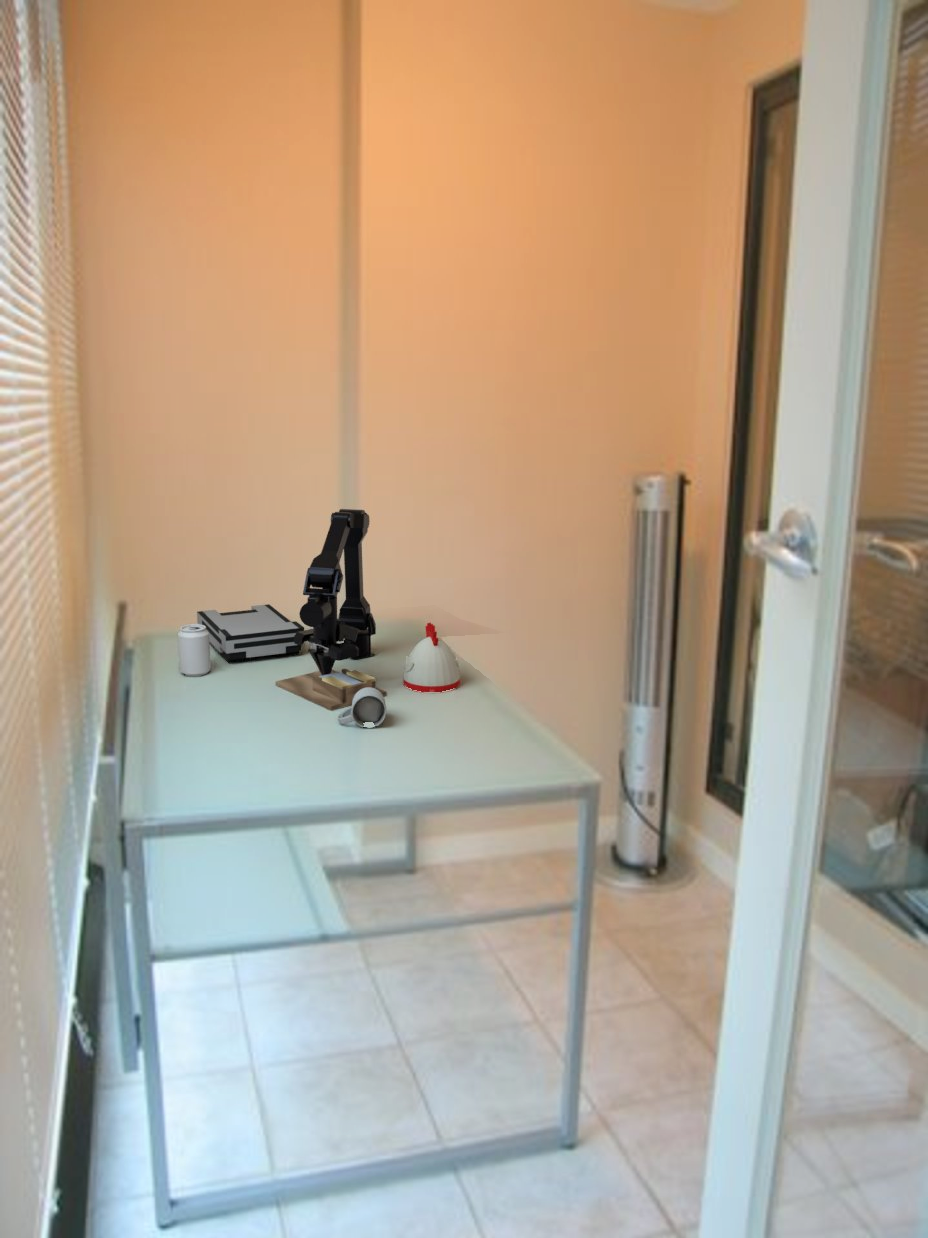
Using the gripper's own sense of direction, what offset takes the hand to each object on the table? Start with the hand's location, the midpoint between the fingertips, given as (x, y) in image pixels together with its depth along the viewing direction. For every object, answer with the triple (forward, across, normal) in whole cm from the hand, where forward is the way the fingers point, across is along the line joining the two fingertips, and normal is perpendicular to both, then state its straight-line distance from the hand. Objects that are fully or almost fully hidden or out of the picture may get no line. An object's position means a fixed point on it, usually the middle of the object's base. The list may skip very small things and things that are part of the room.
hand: (326, 678), depth 251 cm
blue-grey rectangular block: (+2, -6, 0) cm, 6 cm away
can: (+3, +31, +18) cm, 36 cm away
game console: (+3, +43, -5) cm, 44 cm away
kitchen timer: (+3, -13, -22) cm, 26 cm away
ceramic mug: (+3, -24, +7) cm, 25 cm away
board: (+2, -2, 0) cm, 3 cm away
